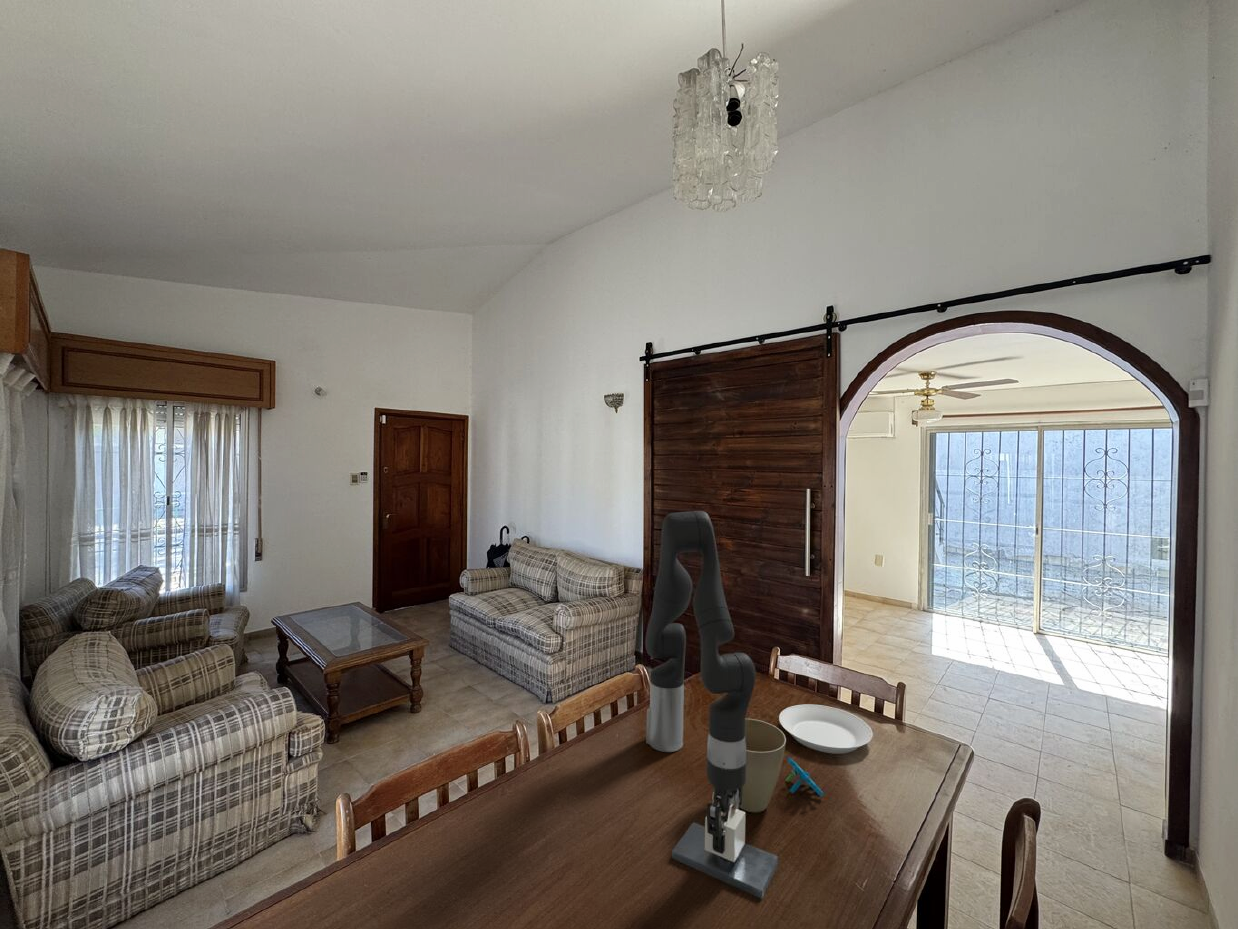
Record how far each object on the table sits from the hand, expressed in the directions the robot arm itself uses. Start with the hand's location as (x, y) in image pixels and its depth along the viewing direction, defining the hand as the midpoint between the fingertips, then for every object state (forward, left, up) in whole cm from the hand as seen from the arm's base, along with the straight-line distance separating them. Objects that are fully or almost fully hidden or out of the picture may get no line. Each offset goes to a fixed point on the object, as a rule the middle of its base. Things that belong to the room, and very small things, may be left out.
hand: (724, 840), depth 106 cm
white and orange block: (0, 0, -1) cm, 1 cm away
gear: (+8, +32, -4) cm, 33 cm away
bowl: (+7, +61, -4) cm, 62 cm away
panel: (0, 0, -4) cm, 4 cm away
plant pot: (-1, +20, -4) cm, 21 cm away
